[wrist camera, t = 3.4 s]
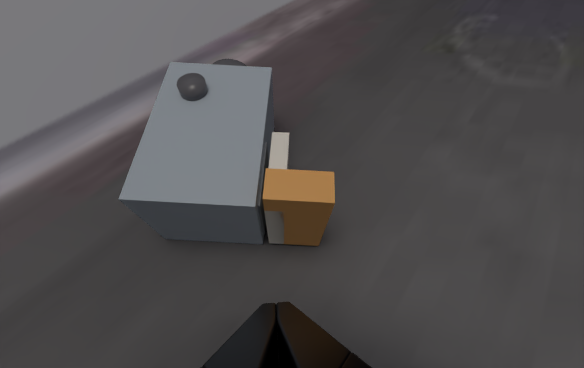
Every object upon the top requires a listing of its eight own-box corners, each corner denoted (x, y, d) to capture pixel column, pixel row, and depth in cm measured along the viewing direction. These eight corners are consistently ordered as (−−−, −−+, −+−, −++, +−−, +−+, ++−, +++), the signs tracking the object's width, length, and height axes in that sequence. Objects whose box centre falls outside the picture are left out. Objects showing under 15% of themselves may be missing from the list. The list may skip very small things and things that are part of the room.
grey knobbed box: (264, 244, 23) (256, 200, 16) (165, 239, 23) (111, 193, 16) (277, 111, 30) (275, 39, 23) (200, 107, 30) (174, 33, 23)
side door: (318, 246, 23) (334, 203, 16) (269, 243, 23) (262, 199, 16) (318, 181, 26) (332, 119, 19) (274, 178, 26) (271, 116, 19)
